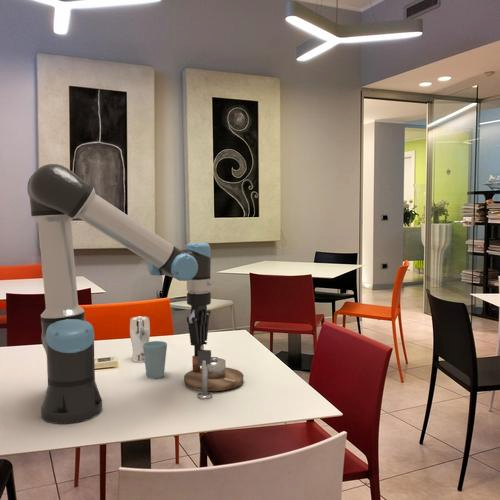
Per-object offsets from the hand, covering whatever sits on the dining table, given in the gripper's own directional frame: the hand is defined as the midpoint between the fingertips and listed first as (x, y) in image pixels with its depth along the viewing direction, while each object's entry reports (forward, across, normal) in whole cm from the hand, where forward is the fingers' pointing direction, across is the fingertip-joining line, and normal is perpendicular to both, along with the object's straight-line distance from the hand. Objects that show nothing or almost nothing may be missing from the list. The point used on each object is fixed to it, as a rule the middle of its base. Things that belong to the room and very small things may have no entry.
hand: (199, 365), depth 164 cm
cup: (+4, -4, +14) cm, 15 cm away
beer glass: (+4, +10, +28) cm, 30 cm away
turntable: (+4, -4, -7) cm, 9 cm away
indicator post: (+3, -16, -9) cm, 19 cm away
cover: (+1, -4, -7) cm, 8 cm away
